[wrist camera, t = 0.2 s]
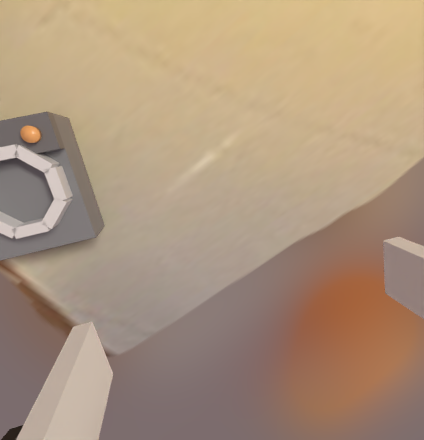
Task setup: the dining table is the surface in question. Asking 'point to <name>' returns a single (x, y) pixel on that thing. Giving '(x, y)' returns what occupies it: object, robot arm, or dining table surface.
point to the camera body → (43, 186)
